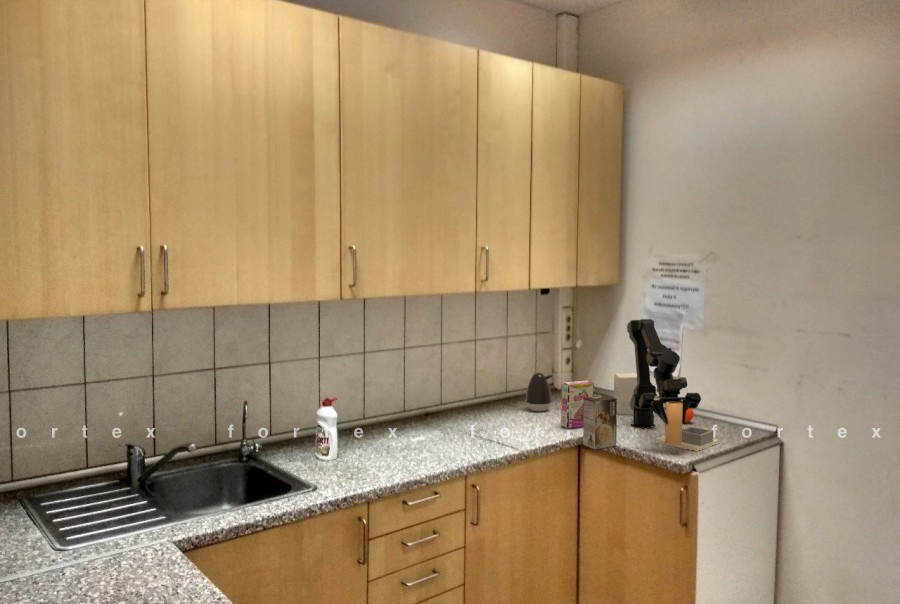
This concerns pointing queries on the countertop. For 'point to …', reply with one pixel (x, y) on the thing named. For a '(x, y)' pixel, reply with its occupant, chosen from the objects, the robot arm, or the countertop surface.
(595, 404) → the coffee box
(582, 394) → the candy bar box
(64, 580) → the countertop surface
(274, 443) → the countertop surface
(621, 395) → the supplement box
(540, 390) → the pump dispenser
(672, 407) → the orange rounded part
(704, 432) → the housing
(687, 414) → the clementine
